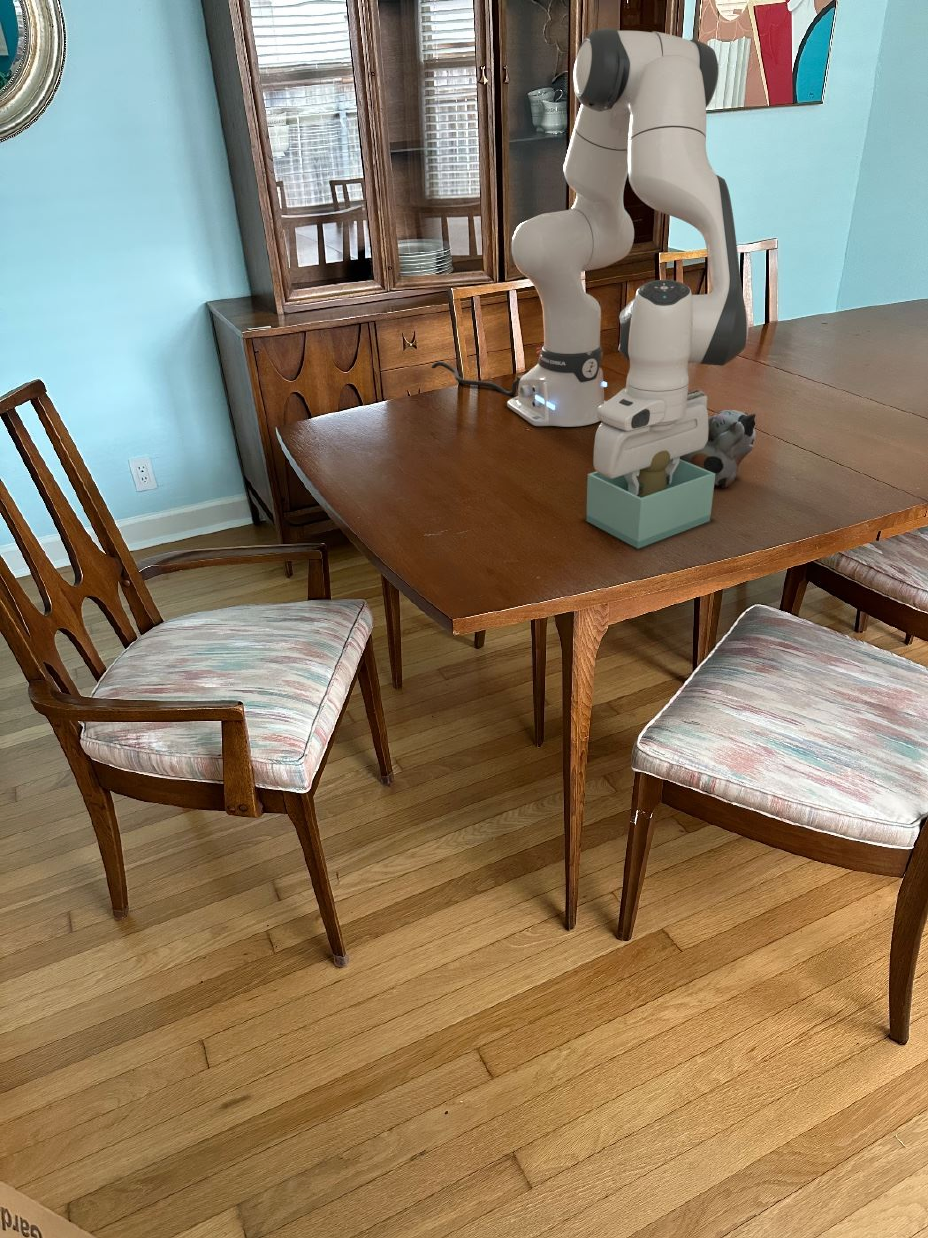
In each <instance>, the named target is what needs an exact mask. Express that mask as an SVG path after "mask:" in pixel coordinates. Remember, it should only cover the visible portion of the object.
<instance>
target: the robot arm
mask: <svg viewBox="0 0 928 1238" xmlns="http://www.w3.org/2000/svg"><path fill="white" fill-rule="evenodd" d="M718 80H719V61H718V57H717V54H716V51H715V50H714V49H713V48H712V47H711V46H710V45H708V44H707V43H704V42H703V41H700V40H698V39H693V38H692V39H690V40H689V39H687V38H683V37H680V36H677V35H673V34H670V33H666V32H659V31H651V32H649V31H641V30H617V28H614V27H606V28H605V27H604V28H599V29H598V28H597V29H595V30H592V31H591V32H589V34H587V35H586V37H585V38H584V39H583V40H582V42H581V44H580V46H579V49H578V52H577V56H576V59H575V62H574V67H573V90H574V93H575V96H576V97H577V100H578V101H579V103H580V107H579V111H578V113H577V116H576V120H575V123H574V126H573V131H572V134H571V138H570V141H569V145H568V149H567V153H566V157H565V160H564V163H563V175H564V178H565V181H566V183H567V185H568V186H569V187H570V189H571V190H572V191H574V192H575V194H576V195H575V201H574V203H573V205H572V207H571V208H569V209H566V210H559V211H552V212H546V213H541V214H538V215H535V216H534V217H532V218H529V219H527V220H525V221H523V222H521V223H520V224H519V225H518V226H517V227H516V229H515V230H514V233H513V236H512V240H511V247H510V248H511V256H512V261H513V263H514V265H515V266H516V268H517V270H518V271H519V272H520V273H521V274H522V275H523V276H524V277H526V278H527V279H528V280H529V281H530V282H531V283H532V285H533V286H534V288H535V290H536V292H537V294H538V297H539V300H540V303H541V308H542V318H543V319H542V321H543V345H542V346H539V347H536V348H535V350H536V351H535V354H539V358H538V362H537V364H536V365H535V366H533V367H532V368H530V370H529V371H528V372H526V373H525V374H522V375H519V376H516V379H515V380H514V381H513V382H512V384H511V385H512V387H511V390H506V389H505V388H503V387H501V386H500V385H498V384H496V383H493V382H491V381H490V382H489V381H483V380H473V379H472V380H471V379H465V378H462V377H460V372H459V370H458V369H457V368H455V367H453V366H451V365H449V364H448V363H446V362H443V361H436V362H434V363H433V364H432V365H431V369H436V368H437V367H443V368H445V369H447V370H449V372H452V373H453V374H454V379H455V380H456V382H457V383H460V384H464V385H468V386H478V387H487V388H492V389H495V390H496V391H498V392H500V393H502V394H505V395H507V396H511V397H512V396H514V395H516V394H517V396H515V397H512V398H510V399H508V401H507V402H506V407H507V408H508V409H510V410H511V411H513V412H514V413H515V414H518V416H520V417H521V418H522V419H524V420H526V421H527V422H528V423H529V424H531V425H532V426H535V427H554V426H555V427H562V428H563V427H564V428H565V427H566V428H569V427H570V428H571V427H583V426H588V425H589V426H590V425H592V424H596V423H598V422H601V423H600V424H599V425H598V427H597V429H596V432H595V434H594V435H595V436H594V444H593V459H592V460H593V461H592V462H593V469H594V470H595V472H596V471H597V472H598V473H599V474H601V475H603V476H605V477H607V478H609V479H614V478H616V477H619V476H622V475H624V477H625V478H626V480H627V482H628V492H630V493H632V494H634V495H636V496H637V495H640V494H642V493H643V490H642V489H643V484H642V483H640V482H638V480H637V478H636V476H639V471H640V470H641V469H644V468H647V467H649V466H650V465H651V462H652V459H653V457H654V456H655V455H656V454H657V453H659V452H661V451H668V452H669V454H670V461H669V464H668V466H667V467H666V468H665V471H666V485H668V484H671V483H672V474H673V473H674V471H675V469H676V467H677V466H678V464H679V460H680V456H683V455H686V454H689V453H692V452H695V451H698V450H701V449H703V448H704V447H705V445H706V443H707V441H708V419H709V411H708V406H707V405H708V395H706V393H705V392H704V391H702V390H701V389H694V390H692V391H689V385H690V375H689V371H688V367H689V366H688V365H689V364H700V365H706V366H707V365H708V366H721V367H723V366H725V365H727V364H728V363H730V362H732V361H733V360H734V359H736V358H737V357H738V356H739V355H740V354H741V353H742V352H743V351H744V350H745V348H746V345H747V340H748V337H749V328H750V327H749V317H748V311H747V308H746V304H745V298H744V293H743V287H742V280H741V279H742V278H741V270H740V262H739V253H738V243H737V237H736V236H737V235H736V227H735V219H734V213H733V207H732V199H731V195H730V190H729V187H728V184H727V181H726V179H725V178H723V177H721V176H720V175H718V174H716V173H715V171H714V169H713V167H712V166H711V163H710V161H709V158H708V154H707V108H708V106H709V105H710V103H711V102H712V99H713V97H714V95H715V92H716V89H717V85H718ZM627 178H628V182H629V184H630V187H631V189H632V191H633V192H634V194H635V195H636V196H637V197H638V198H639V200H640V201H641V202H643V203H644V204H646V206H648V207H650V208H651V209H653V210H655V211H656V212H659V213H661V214H664V215H668V216H671V217H673V218H675V219H679V220H680V221H683V222H684V223H687V224H689V225H690V226H692V227H694V228H695V229H696V230H697V231H698V232H699V233H700V235H702V238H703V239H704V242H705V248H706V255H707V256H706V257H707V266H708V272H709V273H708V274H709V282H710V292H708V293H705V294H692V290H691V288H690V287H689V286H688V284H687V285H686V284H685V283H683V282H681V281H677V280H673V279H656V280H651V281H648V282H645V283H644V284H642V285H640V286H639V287H638V288H637V290H636V292H635V295H634V298H633V299H632V300H631V301H630V302H628V303H627V305H625V307H624V308H623V309H622V310H621V311H620V313H619V323H620V325H619V326H620V335H619V336H620V339H619V345H618V347H617V350H618V351H619V353H620V354H621V355H622V356H623V357H624V359H626V360H627V361H628V362H629V370H628V372H627V376H626V380H625V381H626V382H625V383H626V384H625V387H624V388H622V389H621V390H620V391H619V392H618V393H616V394H615V395H614V396H613V397H611V398H610V399H608V400H605V389H604V388H606V387H608V382H606V381H604V372H603V369H602V368H601V366H602V363H603V361H602V360H603V359H602V357H603V347H602V345H601V323H602V322H601V320H602V308H601V306H600V303H599V302H598V300H597V299H596V298H595V297H594V296H592V295H591V294H589V293H587V292H585V289H584V286H583V283H582V272H583V273H584V272H587V271H594V270H598V269H604V268H606V267H608V266H611V265H613V264H614V263H617V262H619V261H621V260H622V259H624V258H626V257H627V256H628V255H629V253H630V252H631V250H632V247H633V244H634V239H635V228H634V223H633V220H632V218H631V216H630V214H629V213H628V212H627V210H626V209H625V206H624V191H625V185H626V181H627Z"/></svg>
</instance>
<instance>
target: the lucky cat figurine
mask: <svg viewBox="0 0 928 1238" xmlns="http://www.w3.org/2000/svg"><path fill="white" fill-rule="evenodd" d="M755 418H756V413H751V414H748V412H743V411H739V410H736V409H724V410H722V411H720V412H718V413H716V414H714V415H712V416H710V417H708V441H707V443H706V445H705V447H704V448H703V449H701V450H698V451H695V452H692V453H689V454H686V455H683V456H680V459H681V460H683V461H686V462H688V463H691V464H693V465H695V466H698V467H700V468H703V469H705V470H708V471H710V472H713V473H715V482H714V486H717V487H718V486H719V487H720V488H722V489H727V488H728V487H730V486H731V485H733V482H734V481H735V479H736V477H737V476H738V475H737V474H738V468H739V466H740V464H741V462H742V461H743V460H744V459H745V457H747V456H748V455H749V453H750V452H752V451H753V450H754V446H755V445H754V441H755V440H756V434H757V431H756V429H755V426H756V420H755Z"/></svg>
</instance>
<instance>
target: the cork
mask: <svg viewBox="0 0 928 1238" xmlns="http://www.w3.org/2000/svg"><path fill="white" fill-rule="evenodd" d="M669 461H670V454H669V452H668V451H661V452H659V453H657V454H656V455H655V456H654V457H653V459H652V462H651V465H650V466H649V467H647V468H644V469H641V470H640V471H639V476H636V478H637V480H638V482H640V483H642V484H643V489H642V490H643V493H642V494H640V495H637V496H638V497H640V498H642V497H645V496H648V495H651V494H654V493H657V492H660V491H662V490H665V489H667V487H666V471H665V468H666V467H667V466H668V464H669Z"/></svg>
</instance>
